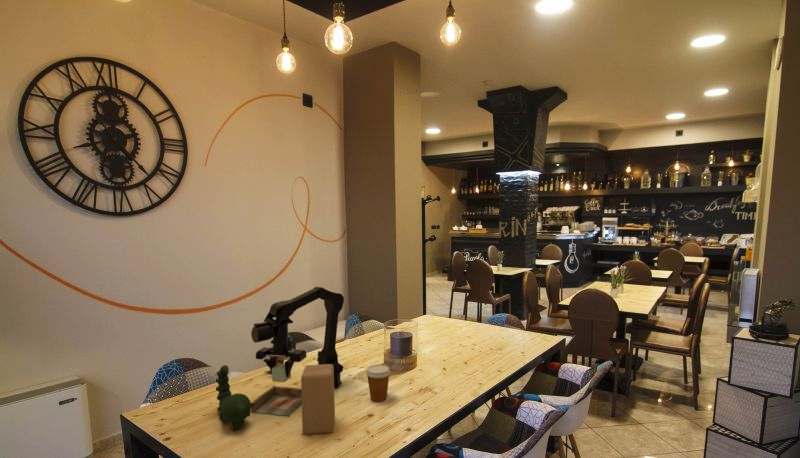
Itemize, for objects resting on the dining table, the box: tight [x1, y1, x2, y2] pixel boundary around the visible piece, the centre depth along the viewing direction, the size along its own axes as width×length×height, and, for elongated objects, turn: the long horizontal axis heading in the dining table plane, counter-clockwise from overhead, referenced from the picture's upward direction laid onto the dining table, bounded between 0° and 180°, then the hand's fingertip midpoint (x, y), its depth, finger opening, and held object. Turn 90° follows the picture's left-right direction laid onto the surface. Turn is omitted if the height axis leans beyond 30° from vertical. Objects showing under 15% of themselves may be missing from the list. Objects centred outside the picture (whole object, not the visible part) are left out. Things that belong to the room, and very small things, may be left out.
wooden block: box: [300, 364, 336, 435], centre depth 136 cm, size 10×10×20 cm
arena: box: [250, 385, 302, 417], centre depth 153 cm, size 15×15×4 cm
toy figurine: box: [215, 365, 252, 430], centre depth 141 cm, size 9×19×25 cm
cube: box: [271, 363, 292, 383], centre depth 153 cm, size 5×5×5 cm
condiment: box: [264, 346, 285, 378], centre depth 185 cm, size 7×8×12 cm
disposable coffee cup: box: [365, 364, 391, 403], centre depth 156 cm, size 10×10×12 cm
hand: (281, 376), depth 153 cm, fingers closed on cube, 5 cm apart
